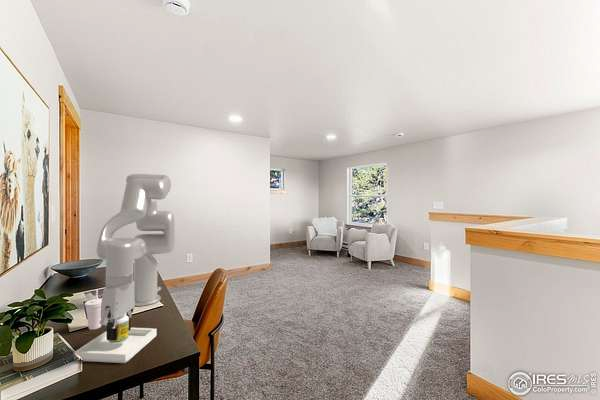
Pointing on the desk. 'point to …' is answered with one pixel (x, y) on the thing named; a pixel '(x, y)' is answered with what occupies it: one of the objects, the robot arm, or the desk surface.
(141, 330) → the tray
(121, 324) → the supplement bottle
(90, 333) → the desk surface
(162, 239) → the robot arm
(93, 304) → the smoothie
